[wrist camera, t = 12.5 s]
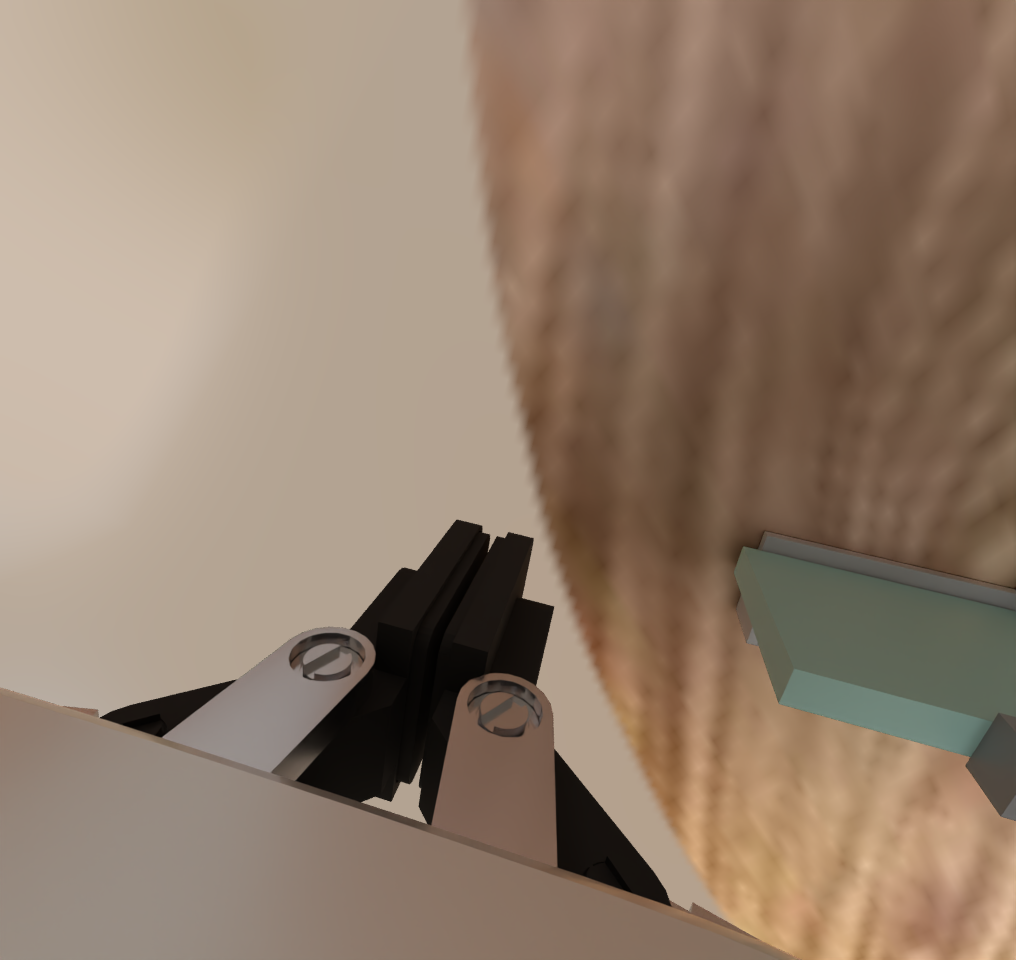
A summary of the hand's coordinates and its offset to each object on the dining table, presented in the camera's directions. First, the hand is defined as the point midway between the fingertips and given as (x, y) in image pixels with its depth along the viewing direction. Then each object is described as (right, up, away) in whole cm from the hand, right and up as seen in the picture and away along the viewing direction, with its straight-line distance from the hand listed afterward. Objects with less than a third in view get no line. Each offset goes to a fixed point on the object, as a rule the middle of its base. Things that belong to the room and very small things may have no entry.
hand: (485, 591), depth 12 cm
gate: (+10, -1, +2) cm, 11 cm away
